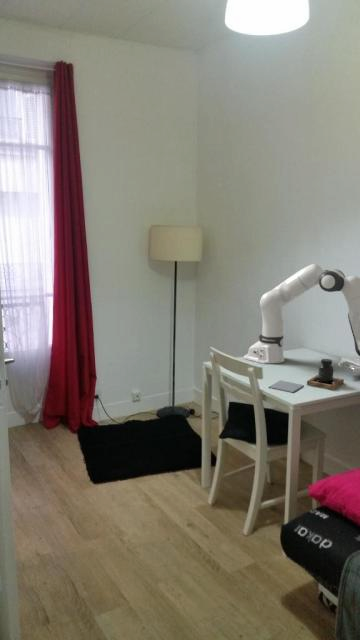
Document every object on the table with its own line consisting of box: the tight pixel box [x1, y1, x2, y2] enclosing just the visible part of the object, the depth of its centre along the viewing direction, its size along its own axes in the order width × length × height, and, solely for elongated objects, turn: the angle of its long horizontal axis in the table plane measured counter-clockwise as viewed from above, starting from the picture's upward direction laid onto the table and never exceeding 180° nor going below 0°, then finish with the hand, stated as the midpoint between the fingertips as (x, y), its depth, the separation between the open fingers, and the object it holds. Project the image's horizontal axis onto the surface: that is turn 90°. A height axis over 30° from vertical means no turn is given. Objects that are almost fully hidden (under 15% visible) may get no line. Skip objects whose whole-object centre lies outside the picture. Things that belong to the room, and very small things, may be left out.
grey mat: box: [268, 379, 305, 394], centre depth 249 cm, size 12×12×1 cm
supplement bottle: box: [317, 358, 334, 385], centre depth 252 cm, size 7×7×12 cm
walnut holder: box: [306, 374, 345, 391], centre depth 253 cm, size 13×13×2 cm
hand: (345, 367), depth 256 cm, fingers open, 8 cm apart
